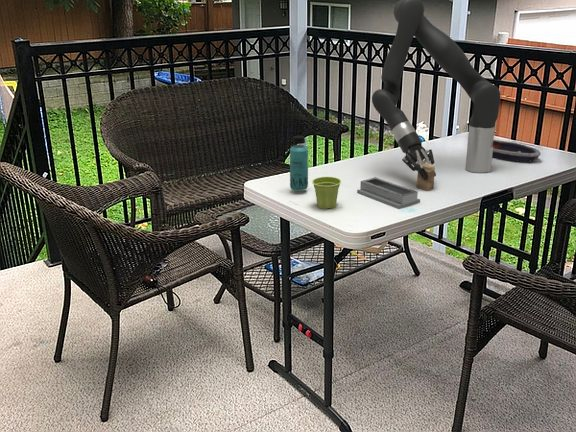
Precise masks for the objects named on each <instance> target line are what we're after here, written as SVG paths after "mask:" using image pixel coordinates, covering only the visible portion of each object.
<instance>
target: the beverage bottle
mask: <svg viewBox="0 0 576 432" xmlns="http://www.w3.org/2000/svg"><path fill="white" fill-rule="evenodd" d="M292 140H293V141H292V144H293V145H292V146H291V147H290V148H289V160H290V161H289V188H290V189H291V190H293V191H305V190H308V187H309V159H308V158H309V148H308V147H307V146H306V145H304V144H305V143H306V137H305V136H303V135H293V138H292Z"/></svg>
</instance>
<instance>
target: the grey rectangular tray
mask: <svg viewBox="0 0 576 432" xmlns="http://www.w3.org/2000/svg"><path fill="white" fill-rule="evenodd" d="M356 193H357V194H359V195H362V196H365V197H367V198H370V199H372V200H375V201H378V202H380V203H382V204H385V205H386V206H387V205H388V206H389V207H393V208H395V209H398V210H400V209H404V208H405V207H409V206H412V205H415V204H418V203H419V204H420V203H421V199H420V198H418V191H417V190H414V189H411V188H408V187H405V186H402V185H399V184H396V183H393V182H391V181H388V180H385V179H382V178H378V177H376V176H374V177H371V178H367V179H363V180H360V189H357V190H356Z"/></svg>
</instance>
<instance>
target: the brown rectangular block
mask: <svg viewBox="0 0 576 432" xmlns="http://www.w3.org/2000/svg"><path fill="white" fill-rule="evenodd" d="M422 165H423V168H424V169H425V171H426V172H427V174H428V176H429V178H428V179H427V180H424V179H423V178H422V177H421V175H420V173H419V172H417V178H416V179H417V180H416V188H417V189H421V190H422V191H426V192H429V191H433V190H434V186H435V185H434V184H435V177H434V173H436V170H435V169H436V166H435V165H434V164H433V165H429V164H427V162H426V163H422ZM418 166H419V165H418Z"/></svg>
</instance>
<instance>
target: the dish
mask: <svg viewBox="0 0 576 432" xmlns="http://www.w3.org/2000/svg"><path fill="white" fill-rule="evenodd" d="M541 154H542V153H541V151H540V150H539V149H537V148H534V147H532V146H528V145H525V144H521V143H517V142H516V143H515V142H513V141H512V142H510V141H505V140H497V139H493V154H492V158H495V159H499V160H504V161H505V160H506V161H511V162H517V163H518V162H519V163H526V162H527V163H529V162H530V163H531V162H535V161H537V160H538V158H540V156H541Z"/></svg>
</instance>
